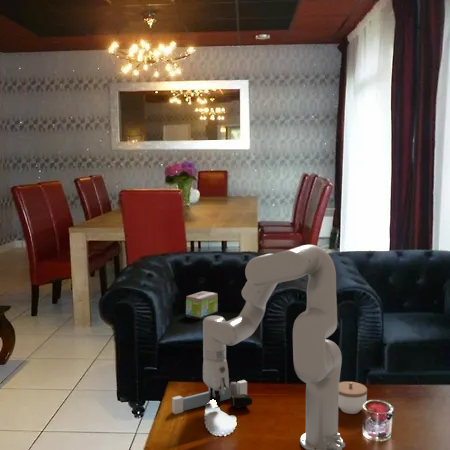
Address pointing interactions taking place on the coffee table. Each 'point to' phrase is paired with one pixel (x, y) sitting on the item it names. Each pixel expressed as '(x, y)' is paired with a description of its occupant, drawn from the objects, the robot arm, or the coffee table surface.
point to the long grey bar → (202, 399)
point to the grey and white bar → (234, 389)
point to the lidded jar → (351, 397)
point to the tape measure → (240, 400)
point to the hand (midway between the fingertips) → (215, 406)
